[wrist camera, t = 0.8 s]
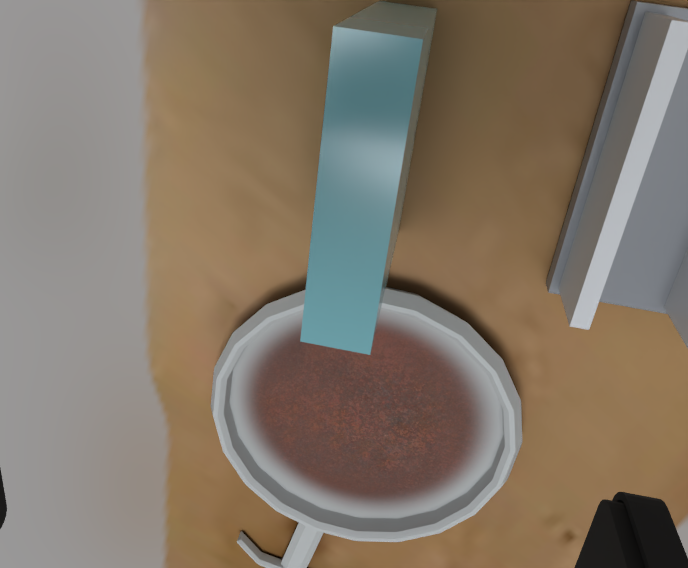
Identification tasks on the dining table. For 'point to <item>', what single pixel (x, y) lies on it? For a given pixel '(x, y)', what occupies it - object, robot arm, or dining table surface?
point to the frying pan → (366, 424)
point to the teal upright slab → (363, 169)
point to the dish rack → (633, 181)
